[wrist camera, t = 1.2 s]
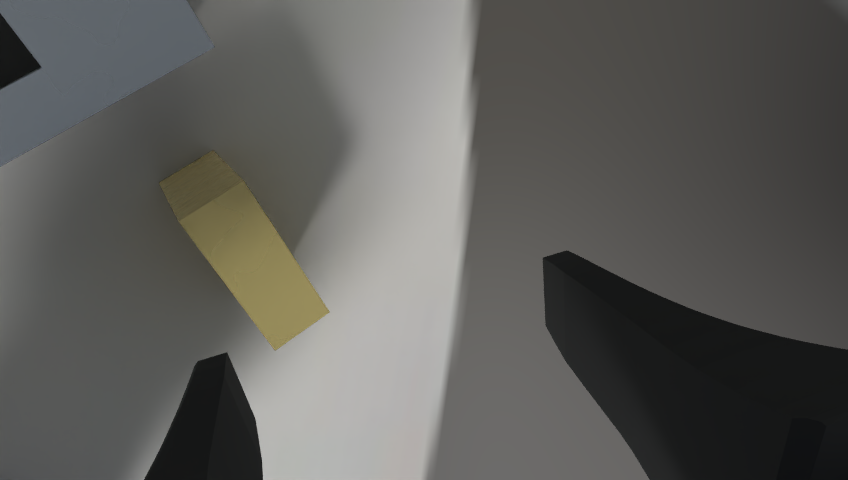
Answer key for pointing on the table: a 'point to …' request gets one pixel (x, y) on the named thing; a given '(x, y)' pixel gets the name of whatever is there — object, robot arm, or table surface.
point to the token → (243, 248)
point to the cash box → (89, 60)
